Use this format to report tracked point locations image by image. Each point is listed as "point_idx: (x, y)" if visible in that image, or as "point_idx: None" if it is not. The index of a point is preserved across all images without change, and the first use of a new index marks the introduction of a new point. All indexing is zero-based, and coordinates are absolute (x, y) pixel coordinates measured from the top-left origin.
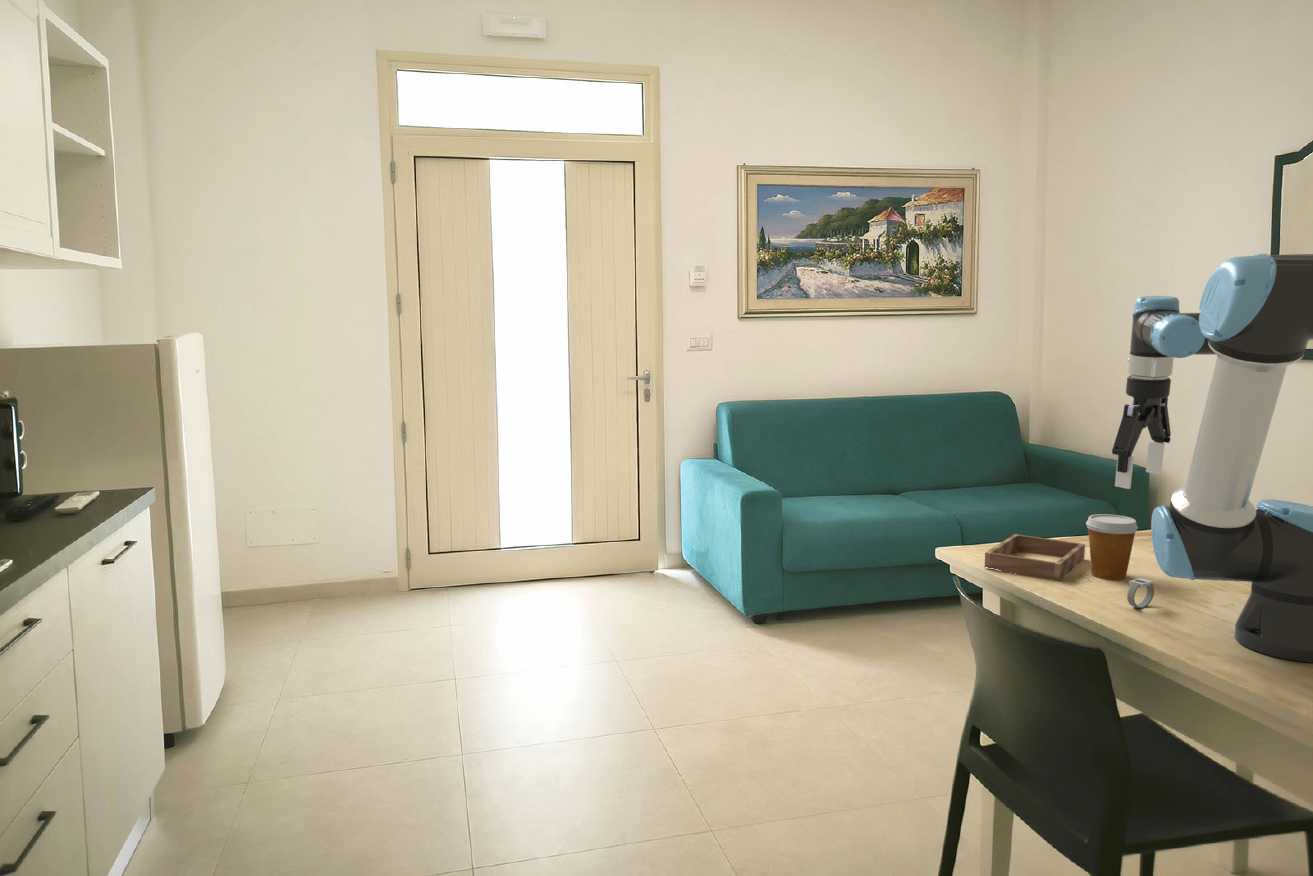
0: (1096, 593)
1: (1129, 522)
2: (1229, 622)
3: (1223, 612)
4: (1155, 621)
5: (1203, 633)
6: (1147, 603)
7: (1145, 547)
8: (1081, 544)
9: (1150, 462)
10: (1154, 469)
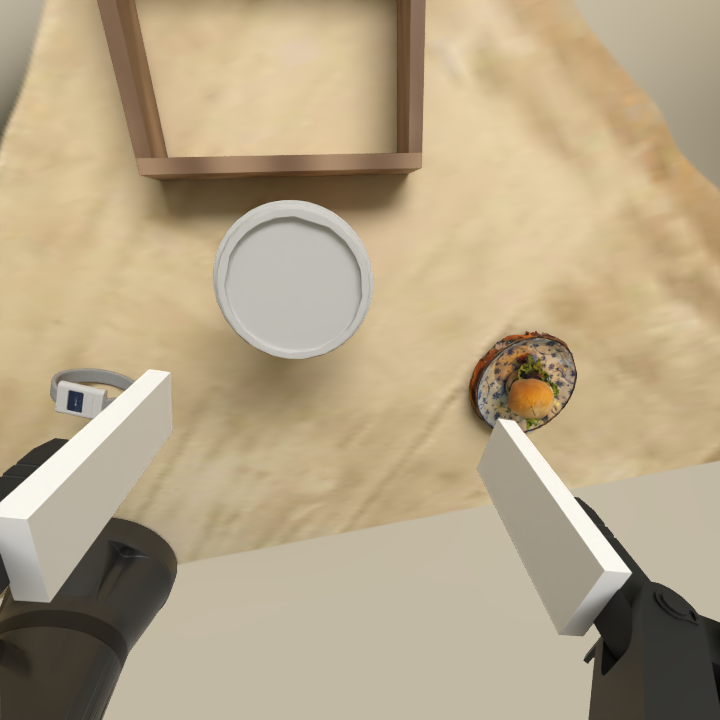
0: (132, 284)
1: (303, 340)
2: (153, 495)
3: (203, 477)
4: (45, 420)
5: None
6: (123, 389)
7: (592, 264)
8: (410, 160)
9: (514, 469)
10: (493, 463)
